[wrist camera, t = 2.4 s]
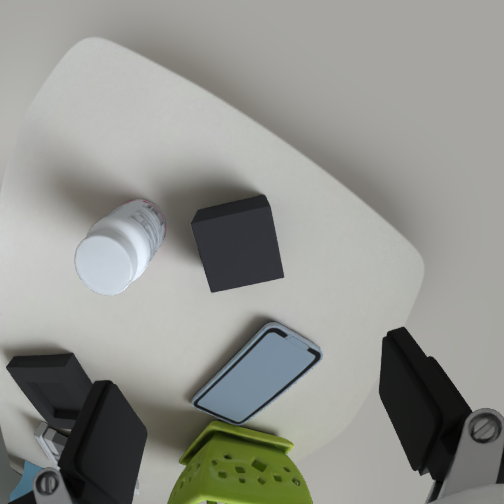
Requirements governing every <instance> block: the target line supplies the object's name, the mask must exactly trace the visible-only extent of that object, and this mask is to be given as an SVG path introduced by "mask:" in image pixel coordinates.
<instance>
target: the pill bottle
mask: <svg viewBox="0 0 504 504" xmlns="http://www.w3.org/2000/svg"><path fill="white" fill-rule="evenodd" d="M165 234H166V222H165V219H164V216H163V214H162V212H161V211H160V210H159V208H158V207H157V206H155V205H154V204H153V203H151V202H149V201H146V200H142V199H135V200H130V201H128V202H126V203H124V204H122V205H121V206H120V207H118V208H117V209H115V210H114V211H112V212H111V213H109V214H108V215H106V216H105V217H104V218H102V219H101V220H99V221H98V222H96V223H95V224H94V225H93V226H92V227H91V229H90V230H89V232H88V234H87V236H86V238H85V239H83V240H82V241H81V243H80V244H79V245H78V247H77V249H76V253H75V267H76V271H77V273H78V275H79V277H80V279H81V280H82V281H83V283H84V284H85V285H86V286H87V287H88V288H90V289H91V290H92V291H94V292H96V293H98V294H101V295H116V294H118V293H120V292H122V291H124V290H125V289H126V288H127V287H128V285H129V284H130V283H131V282H132V281H134V280H136V279H137V278H138V277H139V276H140V275H141V274H142V273H143V272H144V270H145V269H146V267H147V265H148V264H149V262H150V261H151V259H152V257H153V256H154V254H155V253H156V251H157V250H158V248H159V247H160V245H161V244H162V242H163V240H164V237H165Z"/></svg>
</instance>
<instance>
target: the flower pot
mask: <svg viewBox="0 0 504 504" xmlns="http://www.w3.org/2000/svg"><path fill="white" fill-rule="evenodd" d="M293 447H294V445H293V443H292V442H290V441H289V440H287V439H285V438H282V437H278V436H274V435H270V434H266V433H262V432H258V431H254V430H250V429H246V428H243V427H239V426H236V425H232V424H229V423H225V422H222V421H220V420H218V421H217V420H216V421H212V422H211V423H210V424H209V425H208V426H207V427H206V428H205V429H204V430H203V431H202V433H201V434H200V435H199V436H198V437H197V438H196V440H195V441H194V442H193V443H192V444H191V445H190V447H189V448H188V449H187V450H186V452H185V453H184V454H183V455H182V456H181V458H180V460H179V463H180V464H183V465H186V468H185V469H184V470H183V472H182V473H181V475H180V476H179V478H178V480H177V482H176V484H175V486H174V488H173V490H172V492H171V494H170V497H169V500H168V503H167V504H199V503H200V502H202V501H204V500H206V501H207V504H217V502H220V503H225V504H313V502H312V498H311V495H310V492H309V489H308V487H307V485H306V482H305V480H304V478H303V476H302V475H301V473H300V471H299V470H298V469H297V467H296V465H295V464H294V463H293V462H292V460H291V459H290V458H289V457H288V456H287V455H286V454H287V453H288V452H289V451H290V450H291V449H292V448H293ZM297 483H298V484H297Z"/></svg>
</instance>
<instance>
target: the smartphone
mask: <svg viewBox="0 0 504 504" xmlns="http://www.w3.org/2000/svg"><path fill="white" fill-rule="evenodd" d="M322 358H323V353H322V350H321V348H320V347H318V346H317V345H315V344H313V343H311V342H310V341H308V340H306V339H305V338H303V337H301V336H299V335H298V334H296V333H294V332H293V331H291V330H289V329H288V328H286V327H284V326H283V325H281V324H279V323H277V322H270V323H267V324H265V325H264V326H263V327H262V328H261V329H260V330H259V331H258V332H257V334H256V335H255V336H254V337H253V338H252V339H251V340H250V341H249V342H248V343H247V344H246V345H245V346H244V347H243V348H242V349H241V350H240V351H239V352H238V353H237V354H236V355H235V356H234V357H233V358H232V359H231V360H230V361H229V362H228V363H227V364H226V365H225V366H224V367H223V368H222V369H221V370H220V371H219V372H218V373H217V374H216V375H215V376H214V377H213V378H212V379H211V380H210V381H209V382H208V383H207V384H206V385H205V386H204V387H203V388H202V389H201V390H200V391H199V392H198V393H197V394H196V395H195V396H194V397H193V398H192V406H193V407H194V408H196V409H198V410H201V411H203V412H205V413H207V414H210V415H212V416H214V417H217V418H219V419H221V420H224V421H226V422H229V423H231V424H234V425H242V424H244V423H246V422H247V421H249V420H250V419H251V418H253V417H254V416H255V415H256V414H258V413H259V412H260V411H262V410H263V409H264V408H265V407H267V406H268V405H269V404H271V403H272V402H273V401H274V400H276V399H277V398H278V397H279V396H280V395H282V394H283V393H284V392H285V391H287V390H288V389H289V388H290V387H291V386H293V385H294V384H295V383H296V382H297V381H298V380H300V379H301V378H302V377H303V376H304V375H305V374H307V373H308V372H309V371H310V370H311V369H312V368H313V367H314V366H316V365H317V364H318V363H319V362H320V361H321V360H322Z"/></svg>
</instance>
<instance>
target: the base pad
mask: <svg viewBox="0 0 504 504" xmlns="http://www.w3.org/2000/svg"><path fill="white" fill-rule="evenodd" d="M6 368H7V370H8V371H9V373H10V374H11V376H12V377H13V379H14V380H15V382H16V383H17V384H18V386H19V387H20V389H21V390H22V391H23V393H24V394H25V395H26V397H27V398H28V399H29V400H30V402H31V403H32V404H33V406H34V407H35V408H36V409H37V411H38V412H39V413H40V414H41V415H42V417H43V418H44V419H45V420H46V421H47V422H48V424H49V425H50V426H51V427H53V428H61V429H71V430H72V428H73V426H74V424H75V422H76V419H77V417H78V415H79V413H80V411H81V409H82V406H83V404H84V402H85V400H86V398H87V396H88V394H89V392H90V390H91V388H92V386H93V384H92V382H91V381H90V379H89V378H88V376H87V375H86V373H85V372H84V370H83V369H82V367H81V365H80V364H79V362H78V361H77V359H76V357H75V356H74V354H73V353H71V354H57V355H41V356H19V357H13V359H12V360H11V361H10V362H9V364H8V365H7V366H6Z"/></svg>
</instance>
